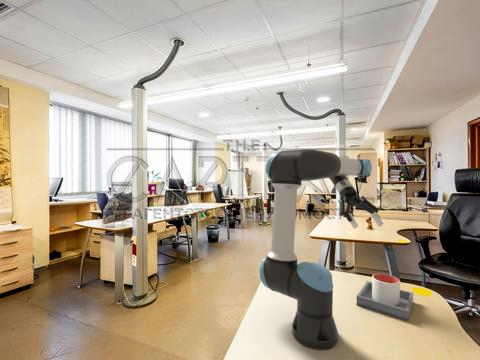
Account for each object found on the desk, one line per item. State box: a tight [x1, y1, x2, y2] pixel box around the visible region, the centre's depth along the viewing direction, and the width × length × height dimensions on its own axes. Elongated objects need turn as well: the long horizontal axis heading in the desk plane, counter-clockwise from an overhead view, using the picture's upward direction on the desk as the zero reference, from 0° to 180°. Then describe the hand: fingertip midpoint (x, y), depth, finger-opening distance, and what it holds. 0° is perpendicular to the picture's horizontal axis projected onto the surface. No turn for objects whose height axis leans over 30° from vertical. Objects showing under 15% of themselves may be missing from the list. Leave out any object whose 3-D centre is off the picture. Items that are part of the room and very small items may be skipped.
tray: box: [356, 281, 414, 322], centre depth 104 cm, size 18×18×4 cm
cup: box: [371, 273, 401, 306], centre depth 103 cm, size 10×10×10 cm
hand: (368, 226), depth 110 cm, fingers open, 13 cm apart
